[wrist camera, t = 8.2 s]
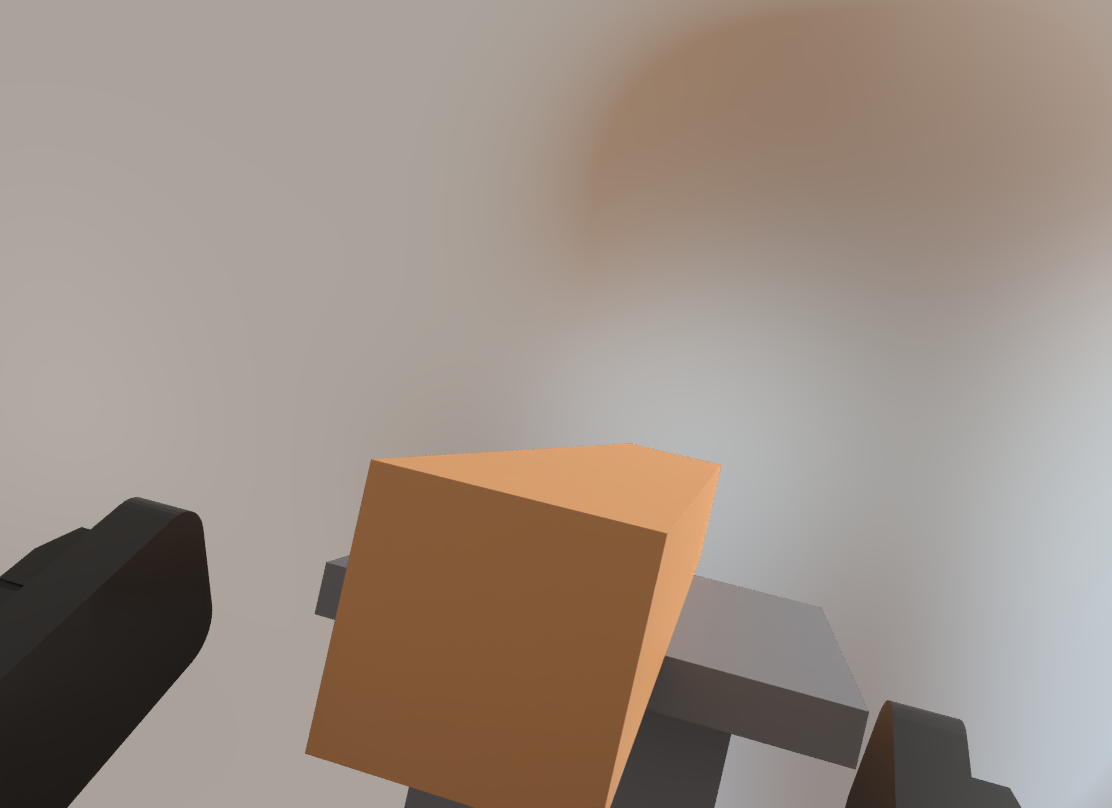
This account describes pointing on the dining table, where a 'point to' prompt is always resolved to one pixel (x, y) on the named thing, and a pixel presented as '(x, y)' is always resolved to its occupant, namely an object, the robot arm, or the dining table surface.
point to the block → (509, 619)
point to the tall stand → (720, 693)
